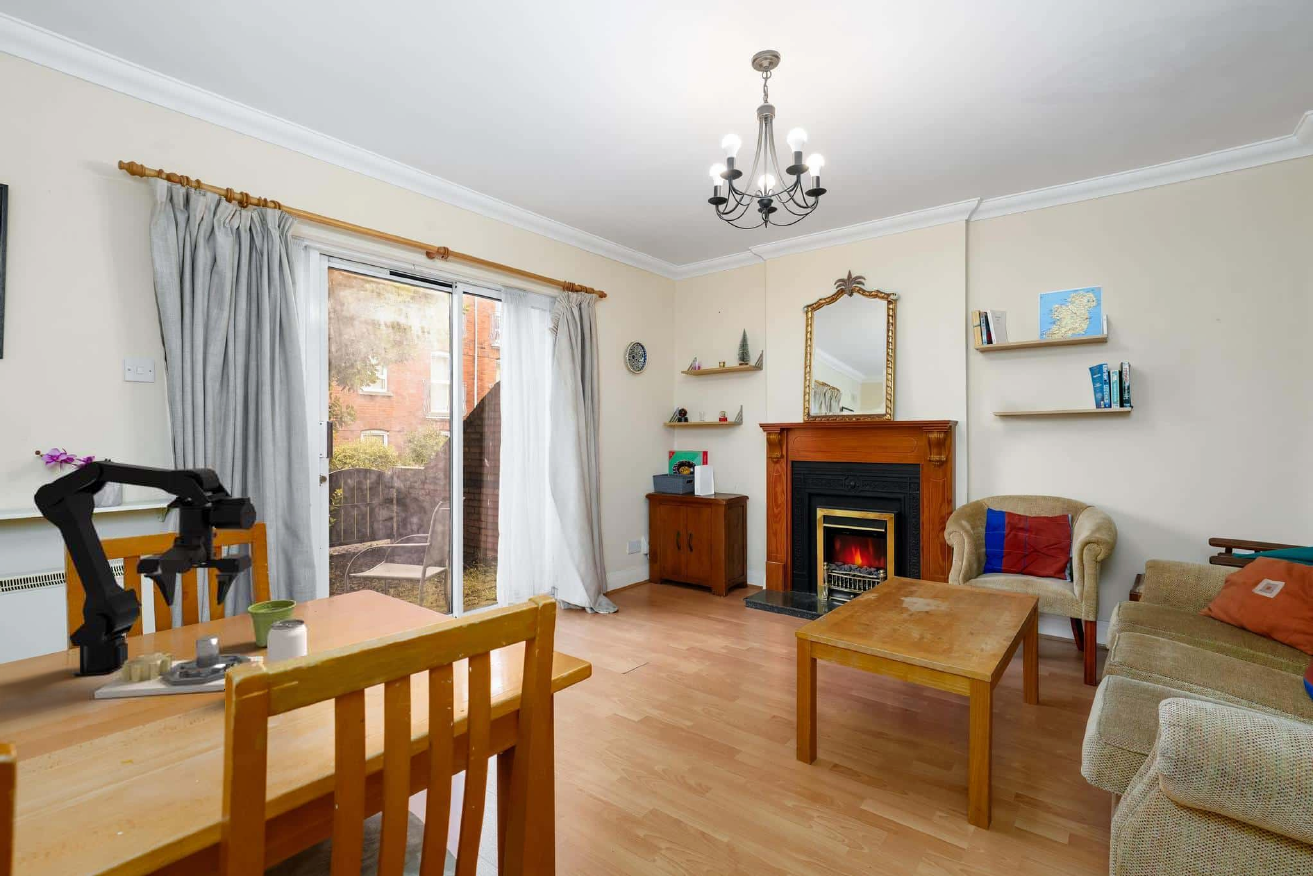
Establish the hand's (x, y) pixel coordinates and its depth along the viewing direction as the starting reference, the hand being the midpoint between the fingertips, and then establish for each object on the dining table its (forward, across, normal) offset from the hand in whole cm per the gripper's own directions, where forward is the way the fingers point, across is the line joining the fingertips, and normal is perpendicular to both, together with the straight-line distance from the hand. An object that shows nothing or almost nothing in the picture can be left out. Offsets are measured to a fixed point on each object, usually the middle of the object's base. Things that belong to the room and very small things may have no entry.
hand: (195, 605), depth 125 cm
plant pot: (+13, +9, +13) cm, 20 cm away
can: (+12, +23, -13) cm, 29 cm away
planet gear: (+11, +6, -6) cm, 14 cm away
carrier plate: (+13, +2, -6) cm, 14 cm away
